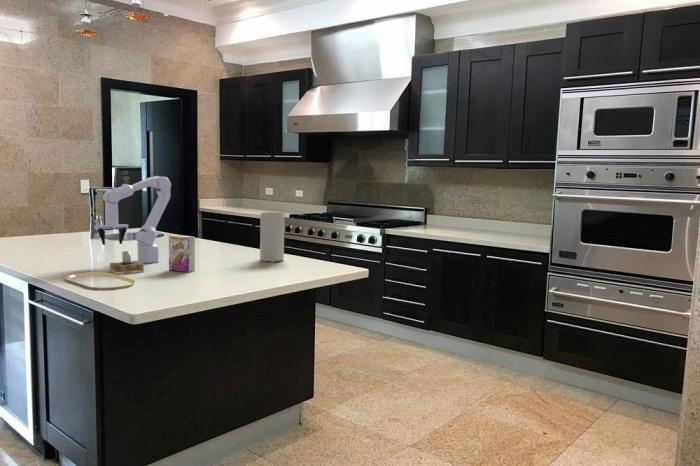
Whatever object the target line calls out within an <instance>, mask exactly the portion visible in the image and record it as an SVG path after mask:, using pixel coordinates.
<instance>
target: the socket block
mask: <svg viewBox="0 0 700 466" xmlns="http://www.w3.org/2000/svg"><path fill="white" fill-rule="evenodd" d="M144 267H145V266H144V263H140V262H138V261H135V260H131V264H129V265H123V263H122V261H121V262H120V261H118V262H109V270H110V272H112V274H115V275H123V274H134V273H144V272H145V271H144V270H145V269H144Z"/></svg>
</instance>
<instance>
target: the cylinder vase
mask: <svg viewBox="0 0 700 466" xmlns="http://www.w3.org/2000/svg"><path fill="white" fill-rule="evenodd" d="M259 228H260V229H259V231H260V232H259V233H260V234H259V235H260V237H259V238H260V239H259V240H260V241H259V242H260V243H259V261H261V260H262V262H265V261H270V262H269V263H276V262H275V261H279V262H282V260H283V261H284V258H285V256H284V255H285V254H284V253H285V213H282V212H274V211H273V212H272V211H271V212H269V211H268V212H261V213H260V227H259Z"/></svg>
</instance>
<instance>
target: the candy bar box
mask: <svg viewBox="0 0 700 466" xmlns="http://www.w3.org/2000/svg"><path fill="white" fill-rule="evenodd" d="M195 239H196V238H195V236H191V235H180V234H171V235H168V270H169V271H173V272H174V271H175V272H182V273H191V271H192V272H195V271H196V269H195V265H196V264H195V262H196V261H195V258H196V257H195V248H196V247H195V246H196V245H195Z"/></svg>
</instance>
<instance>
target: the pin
mask: <svg viewBox="0 0 700 466" xmlns="http://www.w3.org/2000/svg"><path fill="white" fill-rule="evenodd" d="M121 255H122V257H121V259H122V261H121V262H122V263H123V265H129V264H131V261H132V255H131V251H129V250H128V251H127V250H124V251H122V252H121Z"/></svg>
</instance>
